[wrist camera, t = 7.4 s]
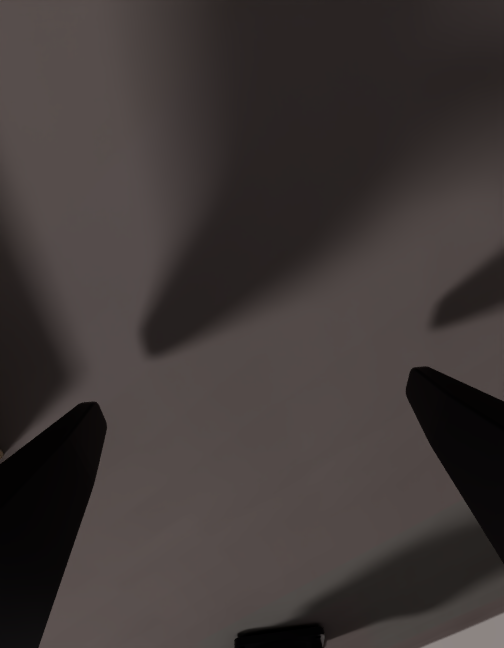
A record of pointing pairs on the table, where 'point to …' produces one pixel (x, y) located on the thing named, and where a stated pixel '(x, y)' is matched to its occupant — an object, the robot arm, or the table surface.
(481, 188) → the table surface
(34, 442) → the robot arm
